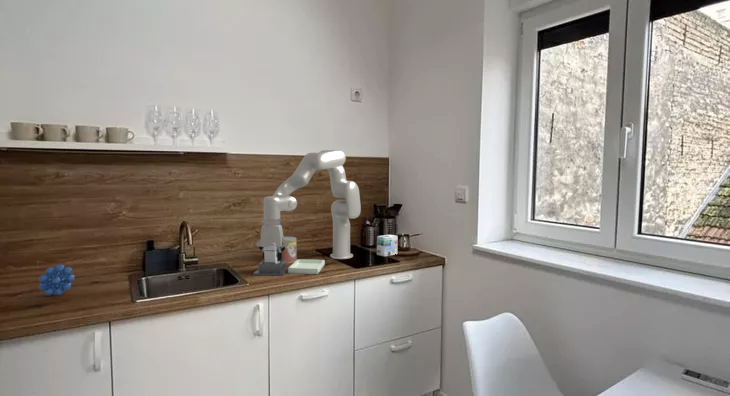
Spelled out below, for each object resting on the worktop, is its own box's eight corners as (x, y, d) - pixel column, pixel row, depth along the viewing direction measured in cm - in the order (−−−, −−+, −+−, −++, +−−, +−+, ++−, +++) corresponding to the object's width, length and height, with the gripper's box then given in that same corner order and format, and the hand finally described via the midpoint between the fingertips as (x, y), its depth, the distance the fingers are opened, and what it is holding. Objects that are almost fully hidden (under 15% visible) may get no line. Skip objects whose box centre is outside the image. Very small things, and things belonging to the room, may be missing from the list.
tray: (297, 264, 210) (297, 259, 210) (324, 264, 209) (324, 259, 209) (288, 273, 192) (288, 268, 192) (317, 274, 191) (317, 268, 191)
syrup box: (276, 273, 192) (275, 242, 190) (264, 272, 193) (263, 242, 192) (280, 270, 197) (280, 240, 196) (269, 269, 198) (269, 240, 197)
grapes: (78, 290, 164) (77, 260, 163) (74, 295, 158) (72, 264, 157) (42, 293, 160) (41, 263, 159) (36, 299, 154) (35, 267, 153)
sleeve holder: (263, 267, 202) (263, 257, 202) (291, 268, 201) (290, 258, 201) (253, 275, 189) (252, 264, 188) (283, 276, 187) (282, 265, 187)
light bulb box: (384, 256, 228) (384, 237, 227) (376, 254, 233) (376, 236, 233) (398, 254, 235) (398, 235, 234) (389, 252, 240) (389, 234, 240)
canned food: (286, 264, 210) (286, 241, 209) (270, 261, 216) (270, 238, 215) (301, 260, 220) (300, 237, 219) (285, 257, 226) (285, 235, 225)
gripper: (251, 223, 190) (251, 261, 191) (288, 224, 189) (288, 262, 190) (256, 221, 197) (257, 258, 199) (292, 221, 196) (292, 259, 197)
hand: (272, 260), depth 194 cm, fingers closed on syrup box, 6 cm apart
